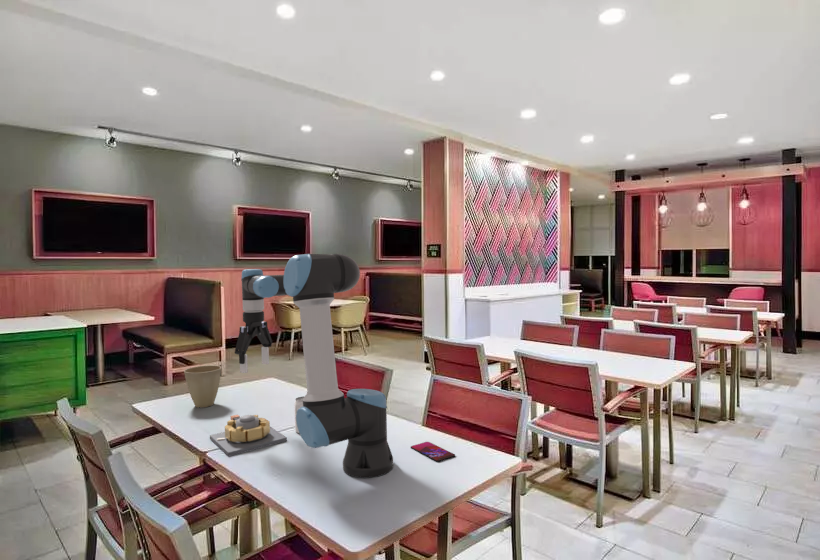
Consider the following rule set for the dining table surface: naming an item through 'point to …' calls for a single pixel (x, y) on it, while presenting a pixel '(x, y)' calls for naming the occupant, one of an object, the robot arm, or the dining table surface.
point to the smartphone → (433, 451)
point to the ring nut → (243, 434)
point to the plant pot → (203, 384)
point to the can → (297, 405)
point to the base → (241, 447)
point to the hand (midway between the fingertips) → (255, 368)
